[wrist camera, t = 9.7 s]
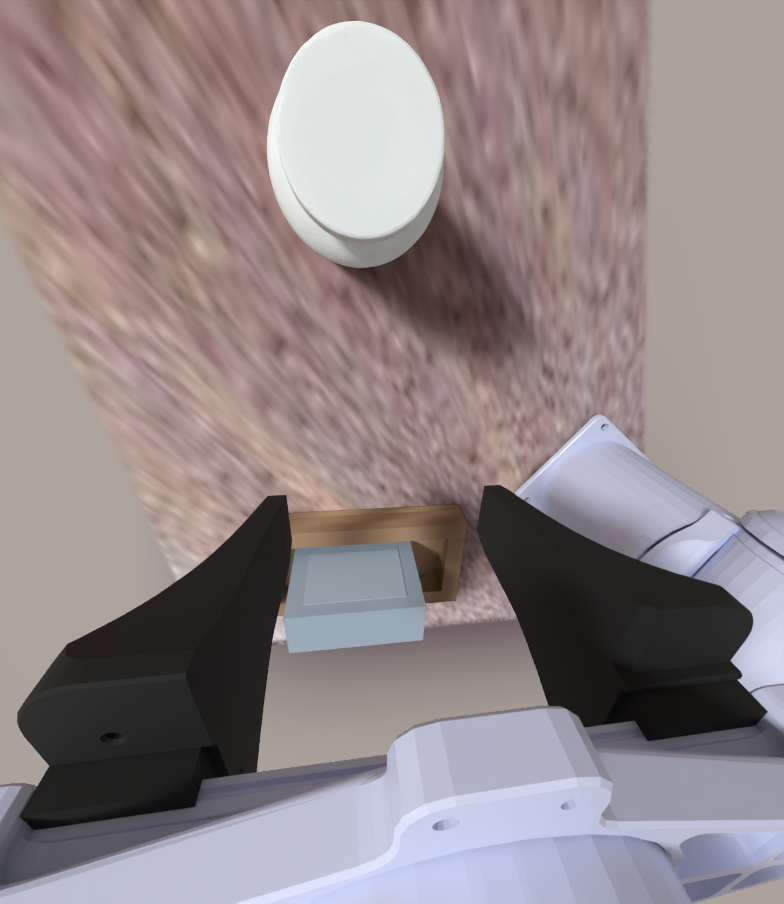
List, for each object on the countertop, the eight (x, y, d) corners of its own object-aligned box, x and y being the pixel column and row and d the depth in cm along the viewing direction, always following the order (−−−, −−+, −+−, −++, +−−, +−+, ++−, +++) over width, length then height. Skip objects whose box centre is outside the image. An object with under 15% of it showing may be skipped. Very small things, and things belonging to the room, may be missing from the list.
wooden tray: (458, 504, 26) (467, 523, 24) (448, 578, 29) (455, 600, 27) (257, 514, 24) (249, 536, 22) (271, 592, 27) (266, 616, 25)
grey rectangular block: (300, 575, 26) (289, 653, 21) (295, 543, 25) (283, 618, 19) (407, 567, 27) (422, 640, 22) (409, 536, 26) (426, 605, 20)
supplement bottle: (283, 131, 15) (209, -39, 7) (406, 126, 16) (480, -39, 7) (305, 271, 18) (271, 274, 9) (410, 264, 18) (469, 261, 10)
